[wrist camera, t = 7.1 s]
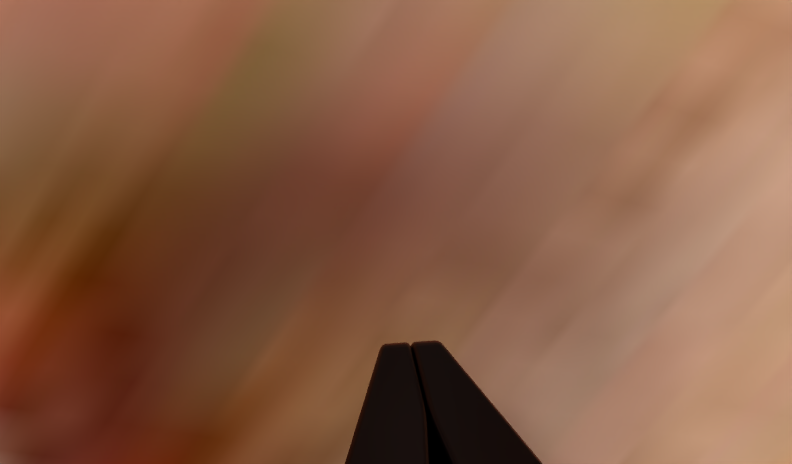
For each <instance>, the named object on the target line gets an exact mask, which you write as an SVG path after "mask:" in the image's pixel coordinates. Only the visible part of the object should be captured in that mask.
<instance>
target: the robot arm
mask: <svg viewBox="0 0 792 464" xmlns="http://www.w3.org/2000/svg"><path fill="white" fill-rule="evenodd" d="M345 464H542V463H541V461H540V460H539V459H538V458H537V457H536V455H535V454H534V453H533V452H532V451H531V449H530V448H529V447H528V446H527V445H526V443H525V442H524V441H523V440H522V439H521V437H520V436H519V435H518V434H517V433H516V431H515V430H514V429H513V428H512V427H511V425H510V424H509V423H508V422H507V421H506V420H505V418H504V417H503V416H502V415H501V414H500V412H499V411H498V410H497V409H496V408H495V406H494V405H493V404H492V403H491V402H490V400H489V399H488V398H487V397H486V396H485V394H484V393H483V392H482V391H481V390H480V388H479V387H478V386H477V385H476V384H475V382H474V381H473V380H472V379H471V378H470V376H469V375H468V374H467V373H466V372H465V371H464V369H463V368H462V367H461V366H460V365H459V363H458V362H457V361H456V360H455V359H454V357H453V356H452V355H451V354H450V353H449V351H448V350H447V349H446V348H445V347H444V345H443V344H442V343H441V342H439V341H421V342H414V343H413V344H412V345H411V346H410V345H409V344H408V343H392V344H384V345H382V347H381V348H380V351H379V354H378V357H377V361H376V364H375V367H374V370H373V374H372V377H371V380H370V383H369V387H368V390H367V393H366V397H365V400H364V403H363V406H362V410H361V413H360V416H359V419H358V423H357V426H356V429H355V432H354V436H353V439H352V442H351V445H350V449H349V452H348V455H347V459H346V462H345Z"/></svg>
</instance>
